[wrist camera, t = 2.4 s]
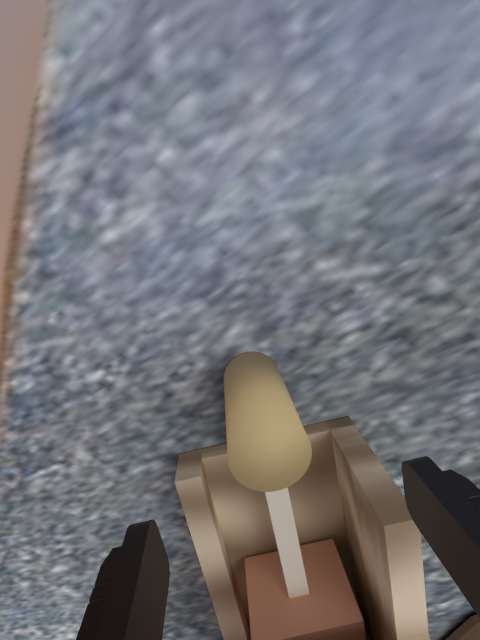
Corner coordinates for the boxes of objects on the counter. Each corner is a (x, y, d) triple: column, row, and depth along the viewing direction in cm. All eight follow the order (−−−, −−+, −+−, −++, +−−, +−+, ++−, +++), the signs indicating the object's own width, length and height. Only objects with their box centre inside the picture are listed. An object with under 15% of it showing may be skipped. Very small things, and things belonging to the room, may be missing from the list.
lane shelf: (178, 453, 22) (152, 616, 13) (348, 416, 22) (442, 551, 13) (232, 630, 26) (240, 846, 17) (373, 598, 26) (456, 795, 17)
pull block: (193, 364, 19) (181, 437, 13) (298, 340, 19) (342, 402, 13) (260, 619, 25) (277, 765, 18) (342, 600, 25) (389, 739, 18)
